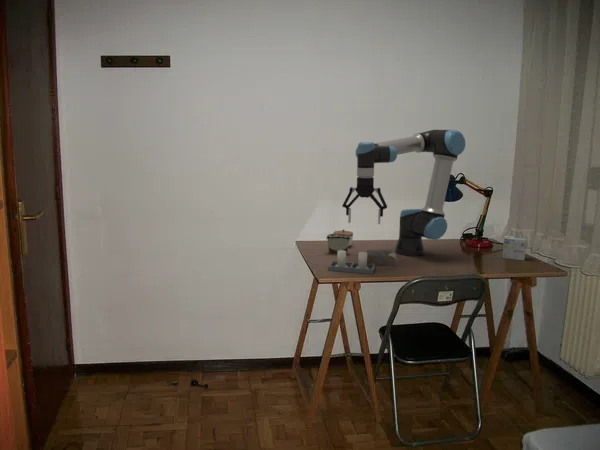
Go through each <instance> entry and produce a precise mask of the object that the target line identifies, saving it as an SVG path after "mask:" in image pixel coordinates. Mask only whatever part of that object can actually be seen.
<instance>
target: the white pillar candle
mask: <svg viewBox="0 0 600 450" xmlns="http://www.w3.org/2000/svg"><path fill="white" fill-rule="evenodd" d="M357 260H358V261H357V263H358V266H357V267H355V268H362V269H369V268H368V267H367V264H368V260H367V251H359V252H358V259H357Z"/></svg>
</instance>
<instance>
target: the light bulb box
mask: <svg viewBox="0 0 600 450" xmlns="http://www.w3.org/2000/svg"><path fill="white" fill-rule="evenodd" d="M502 243H503V244H502V247H503V248H502V256H501V258H502V259H507V260H516V261H517V260H518V261H525V258H526V251H527V237H521V236H512V235H511V236H510V235H504V237H503V242H502Z"/></svg>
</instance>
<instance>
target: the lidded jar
mask: <svg viewBox="0 0 600 450" xmlns="http://www.w3.org/2000/svg"><path fill="white" fill-rule="evenodd" d="M332 234H346V235H349V236H350V239H349V245H348V247H349V246H350V245H352V243H353V240H354V239H353V238H354V232H353V231H349V230H345V229H342V230H335V231H333V233H332Z"/></svg>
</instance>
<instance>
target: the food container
mask: <svg viewBox="0 0 600 450" xmlns="http://www.w3.org/2000/svg"><path fill="white" fill-rule="evenodd" d="M349 239H350V236H349V235H346V234H333V233H329V234H327V236H326V240H327V248H328V249H327V250H328V255H330V256H331V255H332V256H334V255H335V256H337V251H339V250H344V251H346V256H348V250H349V246H350V245H349ZM348 245H349V246H348Z"/></svg>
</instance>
